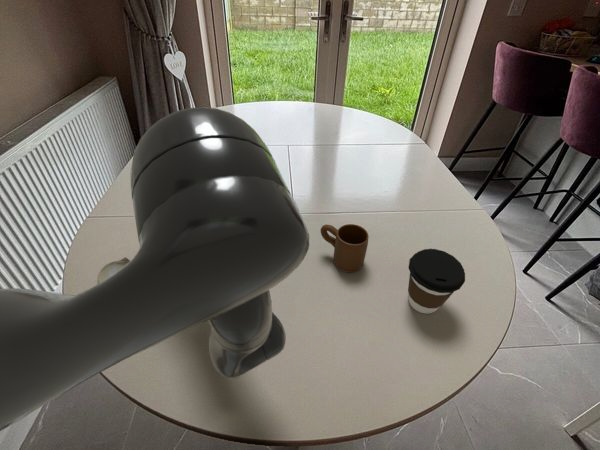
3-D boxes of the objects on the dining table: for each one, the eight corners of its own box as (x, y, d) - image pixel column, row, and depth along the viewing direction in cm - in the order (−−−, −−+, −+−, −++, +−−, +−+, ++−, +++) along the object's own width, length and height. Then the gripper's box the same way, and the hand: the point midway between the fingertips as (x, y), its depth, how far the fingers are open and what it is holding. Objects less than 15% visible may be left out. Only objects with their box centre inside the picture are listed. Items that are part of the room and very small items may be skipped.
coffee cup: (452, 327, 69) (473, 291, 61) (399, 319, 71) (412, 283, 63) (444, 286, 78) (461, 250, 70) (396, 279, 79) (408, 243, 71)
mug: (312, 258, 84) (313, 230, 77) (326, 240, 88) (328, 213, 82) (355, 278, 79) (361, 250, 73) (368, 258, 84) (374, 230, 78)
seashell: (99, 284, 78) (111, 297, 73) (91, 275, 77) (103, 289, 72) (129, 260, 82) (143, 272, 77) (122, 252, 80) (136, 263, 75)
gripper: (245, 236, 58) (213, 186, 69) (163, 265, 52) (142, 206, 64) (249, 265, 63) (218, 214, 74) (174, 294, 57) (153, 235, 68)
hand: (183, 211), depth 69 cm, fingers closed
